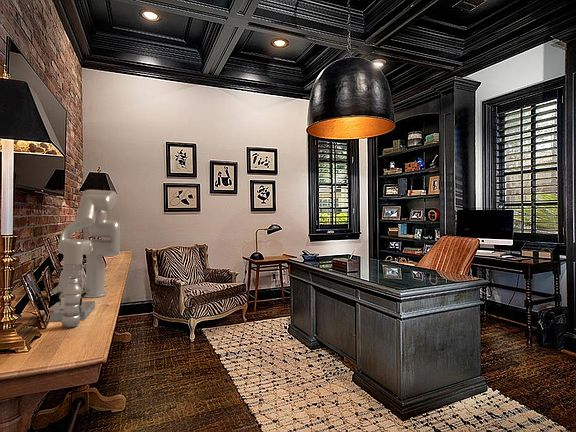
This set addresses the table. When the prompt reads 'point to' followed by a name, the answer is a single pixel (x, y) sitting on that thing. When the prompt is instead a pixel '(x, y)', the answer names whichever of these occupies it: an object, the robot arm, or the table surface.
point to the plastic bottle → (71, 303)
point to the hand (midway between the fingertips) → (70, 306)
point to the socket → (84, 311)
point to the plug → (62, 303)
